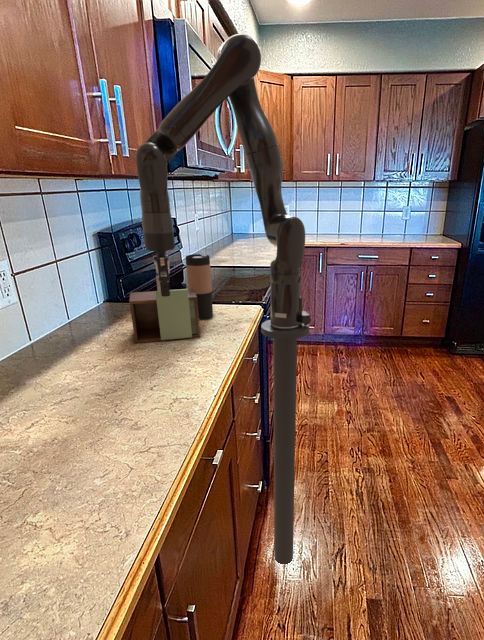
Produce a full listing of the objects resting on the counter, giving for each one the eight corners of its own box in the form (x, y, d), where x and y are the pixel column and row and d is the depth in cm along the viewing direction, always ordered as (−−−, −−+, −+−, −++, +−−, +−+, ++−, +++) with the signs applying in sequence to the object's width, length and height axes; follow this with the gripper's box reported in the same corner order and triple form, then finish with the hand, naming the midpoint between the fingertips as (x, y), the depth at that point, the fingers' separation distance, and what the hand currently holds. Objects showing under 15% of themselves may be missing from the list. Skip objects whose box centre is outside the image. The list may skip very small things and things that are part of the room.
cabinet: (196, 326, 131) (193, 288, 127) (200, 336, 123) (197, 296, 118) (135, 331, 126) (130, 292, 122) (135, 343, 118) (129, 301, 113)
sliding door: (191, 335, 122) (186, 273, 115) (192, 338, 120) (186, 275, 113) (160, 338, 120) (153, 275, 113) (161, 340, 118) (153, 277, 111)
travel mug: (192, 320, 136) (187, 258, 129) (188, 314, 143) (183, 254, 135) (215, 318, 139) (212, 257, 131) (211, 312, 146) (207, 253, 138)
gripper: (175, 233, 103) (181, 297, 109) (171, 227, 115) (177, 285, 122) (143, 234, 101) (151, 300, 107) (143, 227, 113) (150, 287, 119)
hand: (165, 292), depth 114 cm, fingers open, 8 cm apart
